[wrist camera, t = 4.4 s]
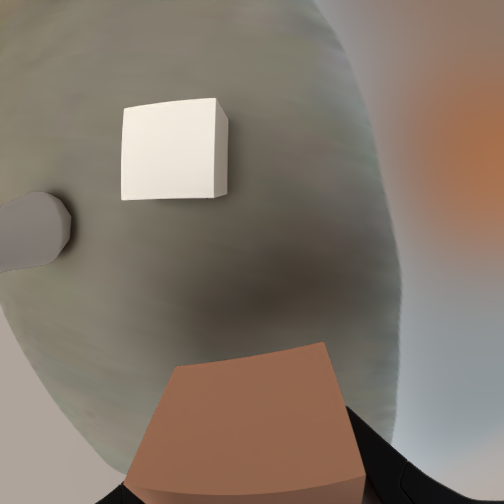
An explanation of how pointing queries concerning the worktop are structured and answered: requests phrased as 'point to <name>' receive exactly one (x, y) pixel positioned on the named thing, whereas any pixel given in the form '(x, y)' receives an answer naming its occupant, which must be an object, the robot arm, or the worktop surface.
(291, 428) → the terracotta cube
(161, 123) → the off-white cube
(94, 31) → the worktop surface
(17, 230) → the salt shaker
